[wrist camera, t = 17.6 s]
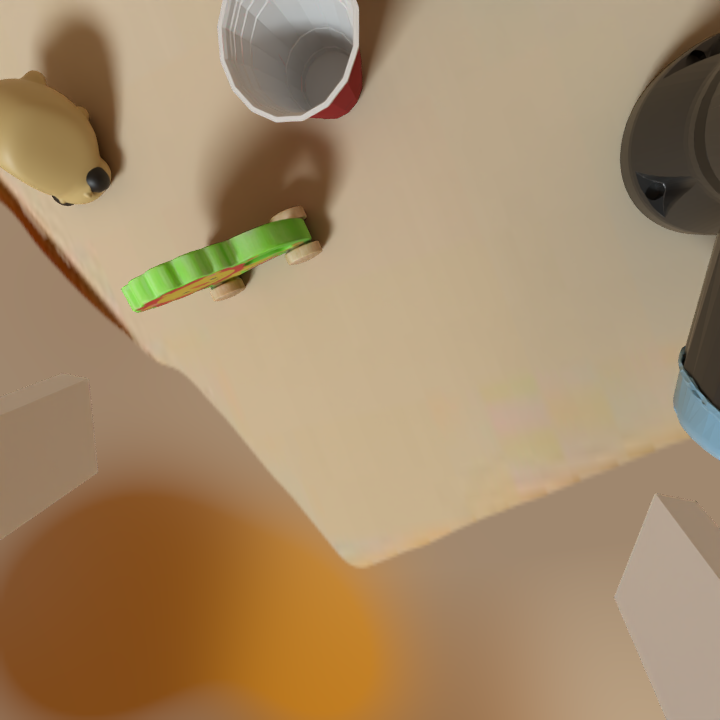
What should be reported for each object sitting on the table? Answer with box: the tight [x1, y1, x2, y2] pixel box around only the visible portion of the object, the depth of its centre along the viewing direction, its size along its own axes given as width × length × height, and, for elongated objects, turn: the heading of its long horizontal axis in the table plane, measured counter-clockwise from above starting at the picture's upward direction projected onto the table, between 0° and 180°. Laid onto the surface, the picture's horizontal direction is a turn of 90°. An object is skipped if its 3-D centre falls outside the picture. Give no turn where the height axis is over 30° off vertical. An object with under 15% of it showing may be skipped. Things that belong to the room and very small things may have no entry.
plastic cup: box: [217, 0, 362, 122], centre depth 35 cm, size 11×11×12 cm
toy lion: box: [121, 206, 322, 313], centre depth 40 cm, size 16×5×15 cm, turn 114°
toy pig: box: [0, 71, 111, 206], centre depth 44 cm, size 10×12×11 cm
